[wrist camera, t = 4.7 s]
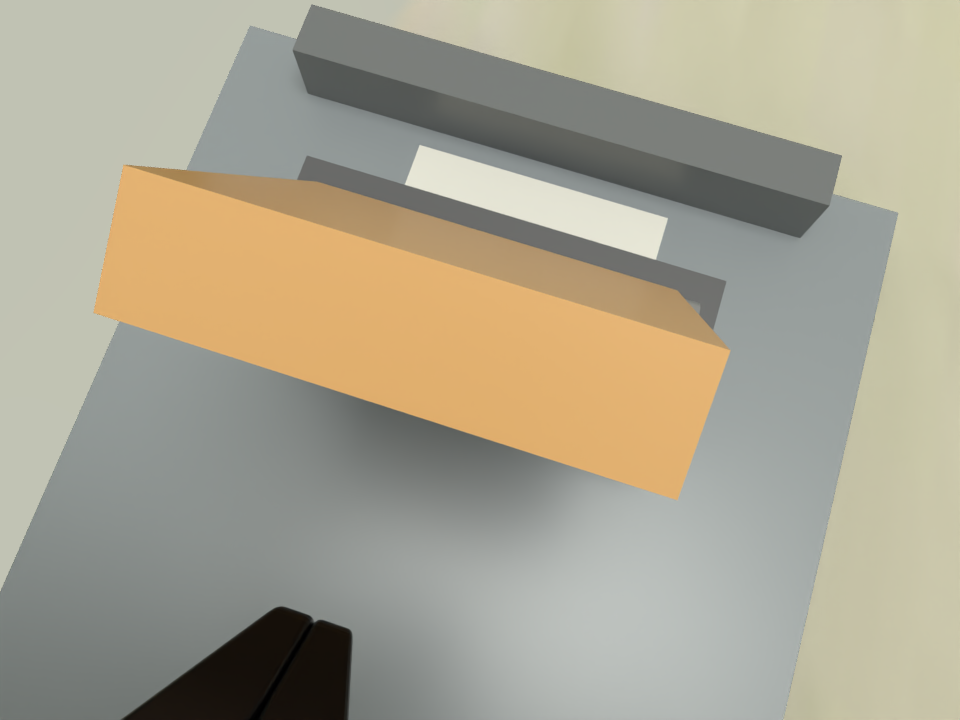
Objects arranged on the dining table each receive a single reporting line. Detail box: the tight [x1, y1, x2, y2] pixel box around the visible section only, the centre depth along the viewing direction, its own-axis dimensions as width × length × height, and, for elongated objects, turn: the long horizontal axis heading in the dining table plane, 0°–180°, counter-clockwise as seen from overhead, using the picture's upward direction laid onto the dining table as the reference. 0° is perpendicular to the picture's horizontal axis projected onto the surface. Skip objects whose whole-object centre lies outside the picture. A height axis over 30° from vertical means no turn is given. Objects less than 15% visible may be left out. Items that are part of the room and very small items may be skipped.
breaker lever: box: [94, 165, 731, 500], centre depth 12 cm, size 2×7×7 cm, turn 72°
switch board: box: [0, 5, 898, 720], centre depth 17 cm, size 21×16×5 cm
